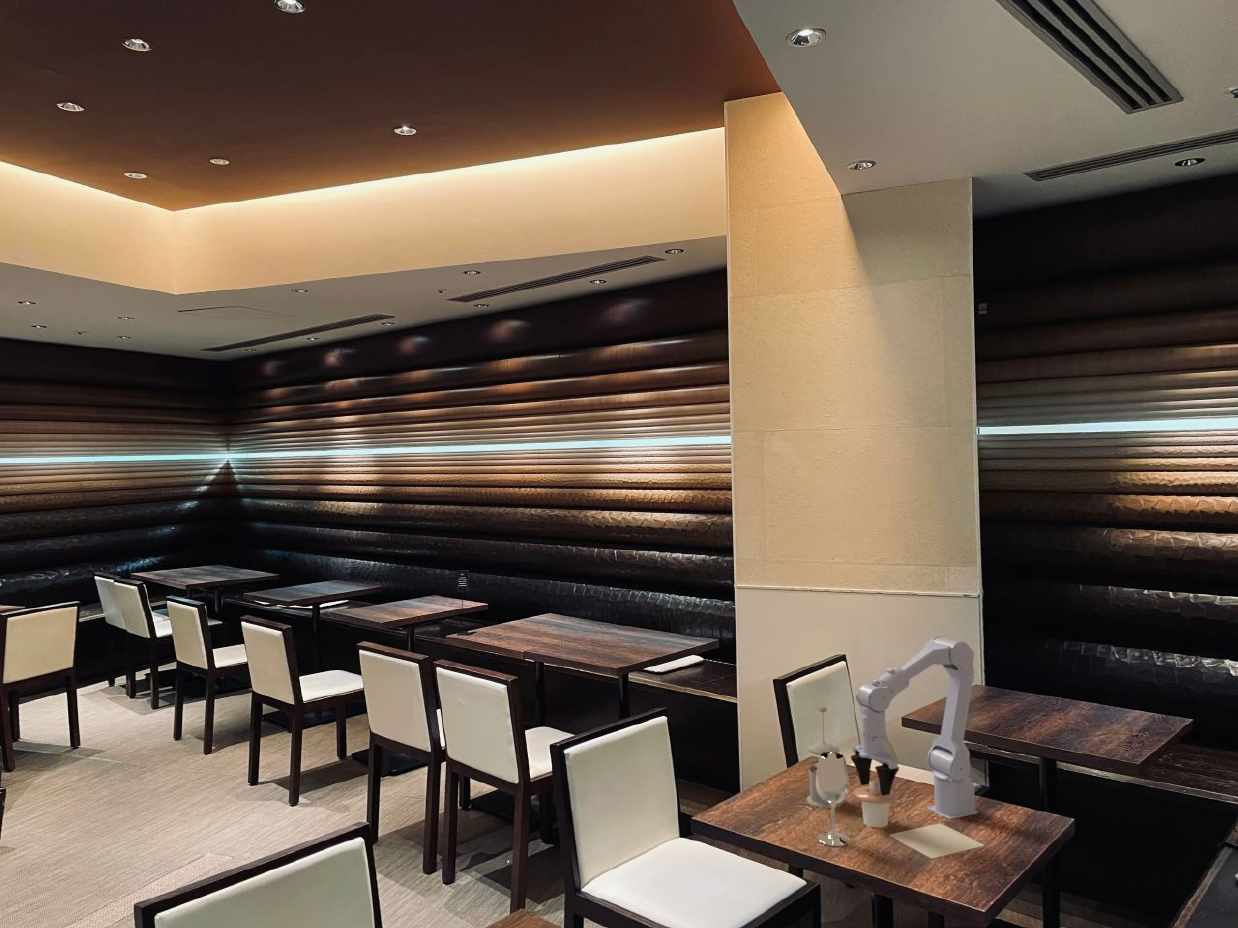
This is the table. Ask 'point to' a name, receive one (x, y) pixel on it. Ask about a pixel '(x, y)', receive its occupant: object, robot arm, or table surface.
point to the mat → (936, 840)
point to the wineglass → (832, 791)
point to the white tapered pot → (875, 814)
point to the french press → (817, 750)
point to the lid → (873, 794)
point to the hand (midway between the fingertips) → (875, 789)
